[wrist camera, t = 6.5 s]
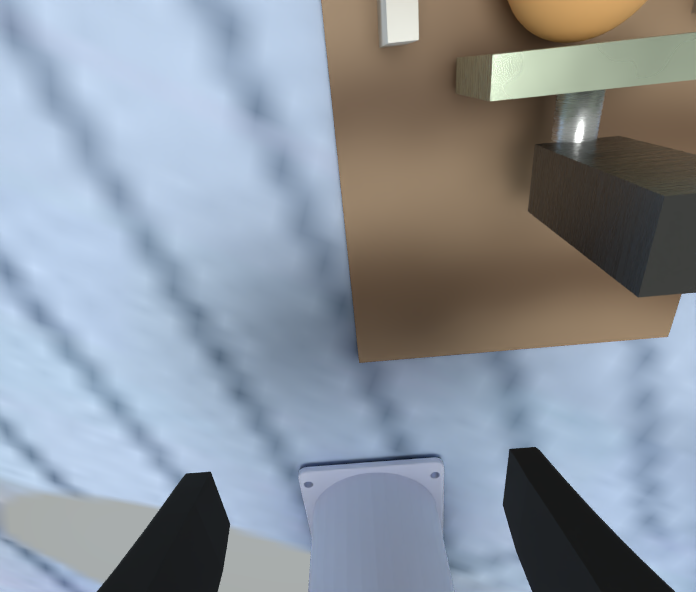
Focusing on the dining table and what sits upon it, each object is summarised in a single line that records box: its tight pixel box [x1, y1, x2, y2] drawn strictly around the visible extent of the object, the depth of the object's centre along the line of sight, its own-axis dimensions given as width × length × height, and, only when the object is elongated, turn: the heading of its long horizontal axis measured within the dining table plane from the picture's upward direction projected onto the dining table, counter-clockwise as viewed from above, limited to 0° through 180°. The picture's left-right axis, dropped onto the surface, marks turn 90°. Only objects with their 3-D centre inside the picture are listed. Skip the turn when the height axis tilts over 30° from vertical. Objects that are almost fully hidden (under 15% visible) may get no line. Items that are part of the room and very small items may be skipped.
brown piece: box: [321, 0, 696, 363], centre depth 13 cm, size 20×14×6 cm
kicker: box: [456, 32, 696, 298], centre depth 11 cm, size 5×6×8 cm
